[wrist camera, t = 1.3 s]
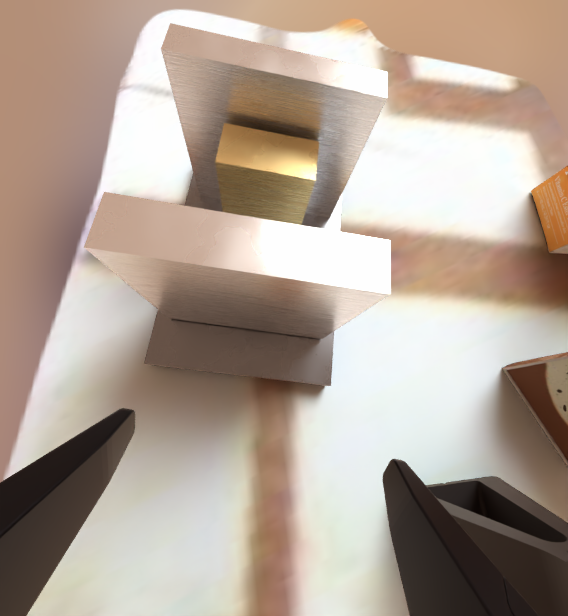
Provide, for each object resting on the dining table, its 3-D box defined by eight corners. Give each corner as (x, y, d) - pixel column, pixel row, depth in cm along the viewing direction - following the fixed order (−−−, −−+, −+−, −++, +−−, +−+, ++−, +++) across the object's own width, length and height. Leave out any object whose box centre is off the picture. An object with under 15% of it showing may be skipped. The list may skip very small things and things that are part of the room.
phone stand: (405, 585, 19) (632, 876, 8) (390, 489, 21) (561, 614, 9) (516, 565, 20) (853, 791, 9) (494, 475, 22) (756, 571, 11)
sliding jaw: (322, 338, 22) (390, 294, 11) (168, 318, 21) (83, 247, 10) (324, 309, 22) (390, 240, 12) (175, 287, 21) (104, 191, 11)
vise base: (325, 385, 22) (411, 385, 10) (151, 364, 21) (25, 337, 9) (338, 186, 28) (403, 40, 16) (202, 161, 27) (164, -16, 15)
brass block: (294, 245, 24) (315, 180, 16) (226, 234, 23) (215, 161, 16) (297, 216, 25) (319, 141, 17) (232, 205, 24) (224, 123, 17)
